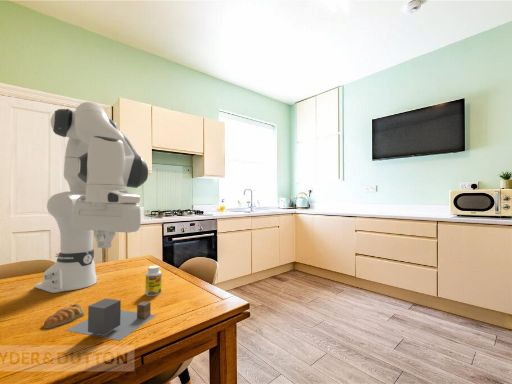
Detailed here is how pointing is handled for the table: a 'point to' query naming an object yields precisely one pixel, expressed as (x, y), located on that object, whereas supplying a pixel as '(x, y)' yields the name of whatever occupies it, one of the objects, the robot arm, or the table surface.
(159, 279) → the supplement bottle
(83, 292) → the table surface
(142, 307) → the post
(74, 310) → the pastry
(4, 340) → the table surface
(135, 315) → the mat
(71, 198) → the robot arm
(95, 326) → the dark gray block
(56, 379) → the table surface
